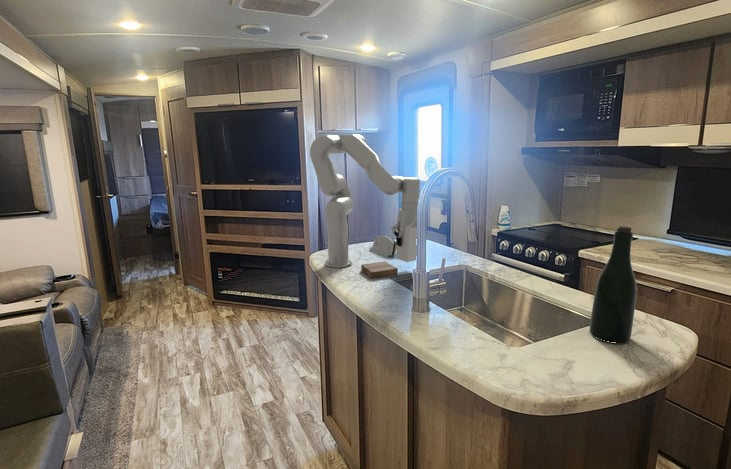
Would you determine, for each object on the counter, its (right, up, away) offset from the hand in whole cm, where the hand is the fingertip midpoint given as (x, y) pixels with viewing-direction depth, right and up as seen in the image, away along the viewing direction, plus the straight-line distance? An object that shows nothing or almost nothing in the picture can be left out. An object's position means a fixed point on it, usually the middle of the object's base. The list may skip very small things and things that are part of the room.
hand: (408, 244), depth 179 cm
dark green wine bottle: (+53, -26, -60) cm, 84 cm away
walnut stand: (-13, -12, -1) cm, 18 cm away
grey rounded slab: (-9, -5, +32) cm, 33 cm away
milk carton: (0, -7, +2) cm, 7 cm away
